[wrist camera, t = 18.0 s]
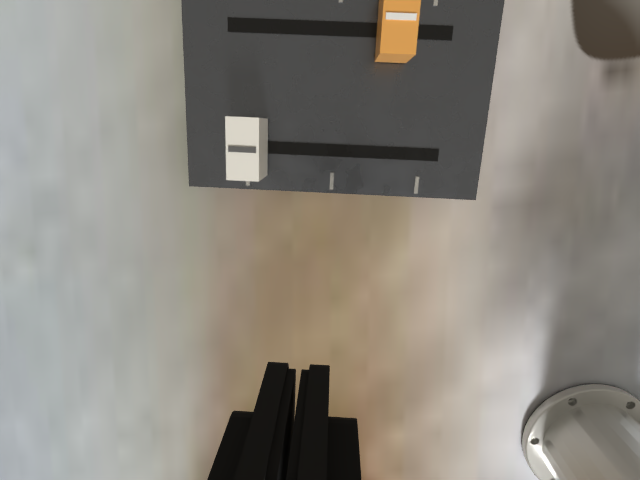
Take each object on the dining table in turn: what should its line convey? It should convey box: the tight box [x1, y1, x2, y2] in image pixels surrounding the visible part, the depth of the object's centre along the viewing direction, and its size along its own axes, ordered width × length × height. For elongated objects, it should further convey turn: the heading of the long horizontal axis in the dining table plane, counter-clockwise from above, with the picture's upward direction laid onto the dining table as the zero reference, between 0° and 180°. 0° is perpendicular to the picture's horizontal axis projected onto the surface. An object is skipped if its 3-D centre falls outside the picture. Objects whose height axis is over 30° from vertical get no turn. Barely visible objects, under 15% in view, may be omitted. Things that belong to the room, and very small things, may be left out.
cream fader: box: [225, 116, 268, 182], centre depth 32 cm, size 2×4×4 cm, turn 178°
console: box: [182, 0, 504, 200], centre depth 34 cm, size 24×16×2 cm, turn 88°
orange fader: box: [375, 0, 421, 63], centre depth 29 cm, size 2×4×4 cm, turn 178°
